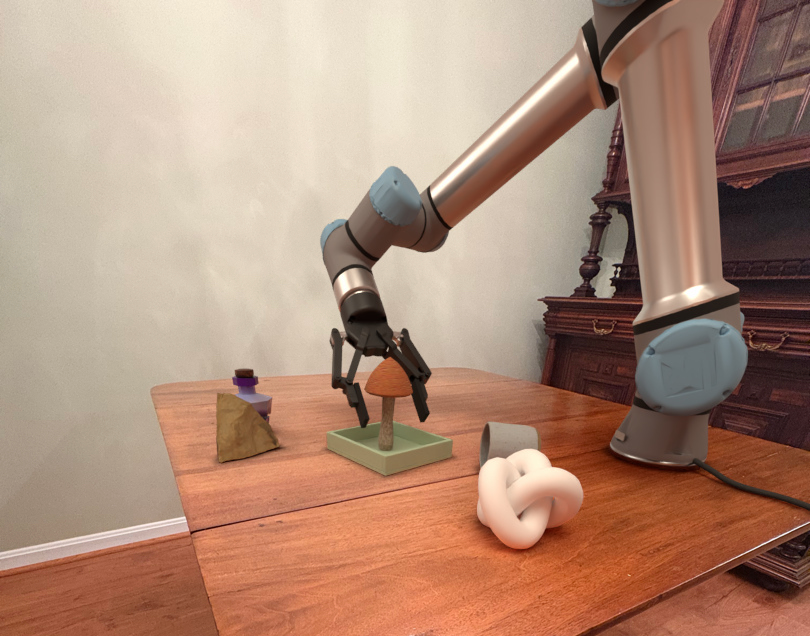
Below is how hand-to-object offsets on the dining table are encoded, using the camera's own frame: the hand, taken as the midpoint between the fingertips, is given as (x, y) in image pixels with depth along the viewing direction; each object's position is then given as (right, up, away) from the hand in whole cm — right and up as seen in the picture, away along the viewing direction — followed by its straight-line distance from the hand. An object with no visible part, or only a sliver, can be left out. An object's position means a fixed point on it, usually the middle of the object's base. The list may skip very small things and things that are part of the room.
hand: (396, 420), depth 69 cm
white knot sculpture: (+14, -18, -18) cm, 29 cm away
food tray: (-1, -4, +6) cm, 7 cm away
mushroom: (-2, -4, +5) cm, 7 cm away
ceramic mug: (+17, -8, 0) cm, 19 cm away
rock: (-25, -5, +4) cm, 26 cm away
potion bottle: (-28, +1, +13) cm, 31 cm away
